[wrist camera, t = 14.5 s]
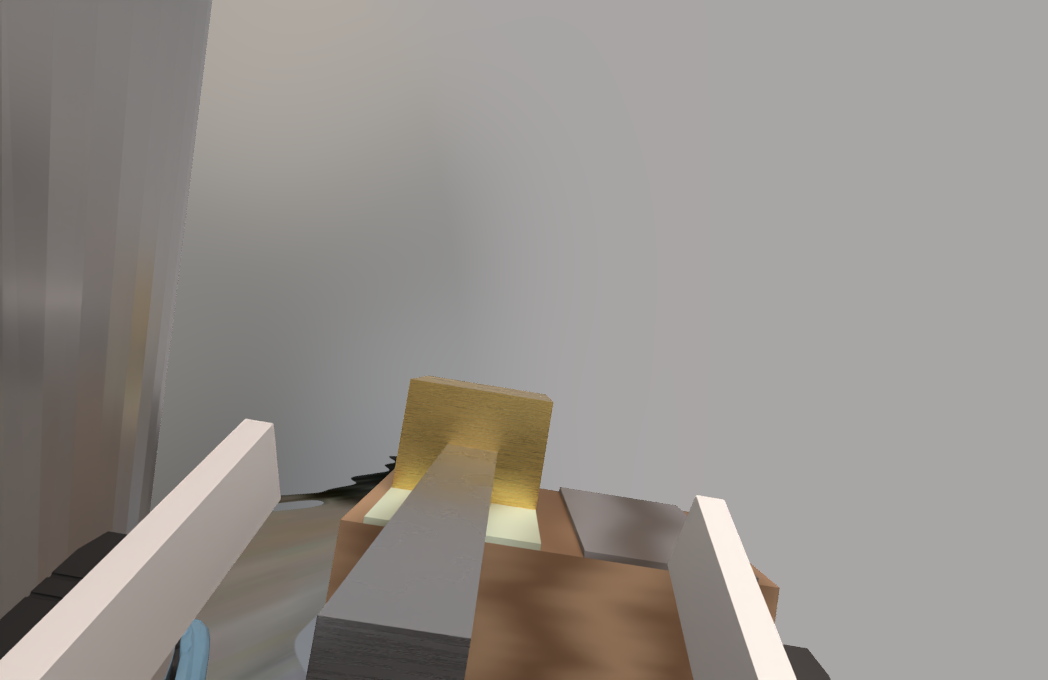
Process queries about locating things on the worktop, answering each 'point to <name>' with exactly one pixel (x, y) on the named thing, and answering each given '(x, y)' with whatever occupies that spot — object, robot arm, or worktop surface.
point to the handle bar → (434, 534)
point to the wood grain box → (562, 586)
